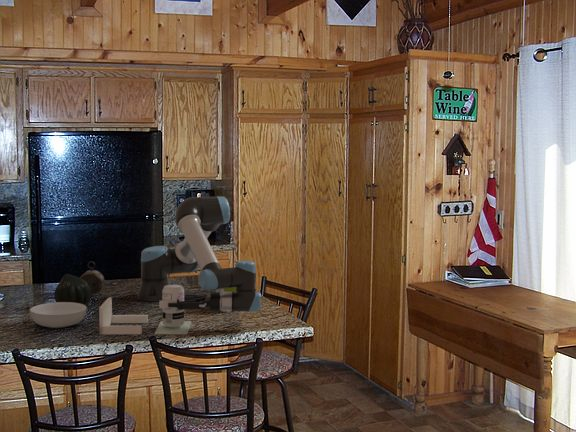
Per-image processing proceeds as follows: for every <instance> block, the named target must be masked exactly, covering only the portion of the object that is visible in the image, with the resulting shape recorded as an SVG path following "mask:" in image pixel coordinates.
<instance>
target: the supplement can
mask: <svg viewBox="0 0 576 432" xmlns="http://www.w3.org/2000/svg"><path fill="white" fill-rule="evenodd" d="M184 294H185V289H184V287H183V285H182V284H168V285H166V286H164V288H163V290H162V301H177V300H179V301H184ZM162 321H163V324H164V326H166V327H179V326H182V325H183V324H184V321H185V309H184V310H178V308H162Z"/></svg>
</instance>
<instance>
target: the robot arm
mask: <svg viewBox="0 0 576 432" xmlns="http://www.w3.org/2000/svg"><path fill="white" fill-rule="evenodd" d="M174 220H175V226H176V227H177V229H178V231H179V232H180V233H182V234H183V236H184V239H183V241H179V243H177V244H176V246H175V247H172V248H168V247H167V246H166V245H155V246H149V247H146V248H144V249H143V250H142V251H141V252H140V253H141V254H140V255H141V256H140V265H141V268H140V269H141V270H140V274H141V275H140V277H141V278H140V279H141V282H140V285H139V289H138V292H137V300H139V301H144V302H158V303H159V306H158V308H159V309H163V308H178V310H184V311H185V310H205V308H206V307H207V308H208V307H209V311H210V312H212V313H215V312H217V313H218V312H226V313H227V314H229V313H230V312H246V313H247V312H248V313H249V312H259V311H260V310H261V307H262V301H261V300H262V298H261V297H262V293H261V292H260V291H257V288H256V282H257V280H256V278H257V267H256V266H257V265H256V262H254V261H252V260H238V261H237V262H236V263H235V266H233V267H226V268H225V267H224V268H222V266H221V264H220V261H219V260H218V258H217V256H216V254H215V252H214V250H213V248H212V246H211V244H210V242H209V240H208V238H209V236H210V235H211V234H212V232H215V231H216V230H217V229H218V228H219V227H220V226H221V225H225V224H228V223H229V222H230V220H231V208H230V204H229V200H228V198H226V197H225V196H219V195H216V196H192V197H191V196H190V197H187V198H185V199H184V200H182V201H181V202H180V204H179V205H178V206H177V208H176V211H175V214H174ZM198 270H200V272H199V274H198V282H199V283H198V284H199V287H200V288H201V289H202V290H205V291H206V290H207V291H208V290H209V291H210V290H213V291H211V292H210V294H209V296H207V295H208V294H185V293H184V301H179V300H177V301H162V290H163V288H164V286H166V285H169V282H168V275H175V274H185V273H187V274H191V273H195V272H196V271H198ZM231 287H236V292H222V293H220V292H216V289H221V288H231ZM214 290H215V291H214Z"/></svg>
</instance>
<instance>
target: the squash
mask: <svg viewBox="0 0 576 432" xmlns="http://www.w3.org/2000/svg"><path fill="white" fill-rule="evenodd" d="M53 296H54V300H55V303H56V302H72V303H79V304H83V305H85V306H86V305H88V304H89V303H90V301H91V300H92V295H91V289H90V287H89V285H88V284H87V282H86V281H84V280H83V279H81V278H80V277H78V276H76V275H73V274H68V273H65V274H64V275H63V276H62V278H61V280H60V281H59V282H58V284H57V286H56V288H55V290H54V295H53Z"/></svg>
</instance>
